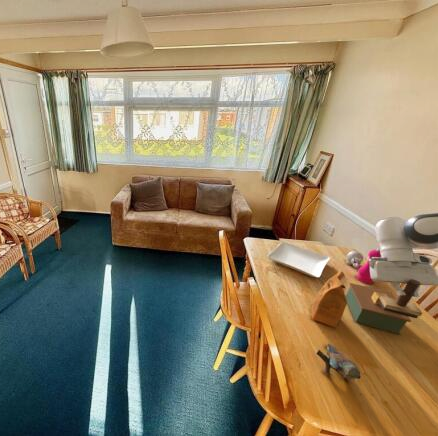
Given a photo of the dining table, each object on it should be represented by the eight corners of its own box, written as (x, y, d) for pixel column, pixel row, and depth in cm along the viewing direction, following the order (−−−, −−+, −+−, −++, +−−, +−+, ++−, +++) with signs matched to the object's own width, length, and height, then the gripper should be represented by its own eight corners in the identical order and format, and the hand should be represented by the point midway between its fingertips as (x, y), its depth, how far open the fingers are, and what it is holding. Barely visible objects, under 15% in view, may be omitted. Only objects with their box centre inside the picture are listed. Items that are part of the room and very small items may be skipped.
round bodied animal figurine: (345, 269, 131) (350, 257, 128) (343, 259, 140) (348, 247, 137) (361, 273, 128) (367, 261, 124) (358, 263, 137) (364, 251, 133)
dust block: (382, 300, 99) (386, 294, 97) (386, 306, 95) (390, 300, 94) (371, 297, 100) (374, 291, 99) (374, 303, 97) (378, 297, 95)
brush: (410, 309, 88) (430, 281, 82) (418, 319, 83) (438, 290, 77) (377, 301, 91) (393, 273, 85) (382, 310, 87) (399, 282, 81)
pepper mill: (371, 278, 124) (387, 247, 116) (374, 286, 119) (392, 254, 110) (354, 273, 128) (368, 243, 119) (356, 281, 122) (372, 249, 114)
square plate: (329, 261, 138) (331, 256, 136) (317, 283, 121) (319, 277, 119) (281, 244, 156) (282, 239, 154) (265, 261, 139) (266, 255, 137)
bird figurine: (311, 337, 91) (331, 327, 75) (342, 349, 87) (369, 341, 71) (308, 374, 85) (329, 371, 69) (341, 388, 81) (370, 389, 65)
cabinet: (384, 306, 107) (392, 292, 103) (403, 336, 92) (413, 321, 89) (343, 295, 113) (349, 282, 109) (354, 322, 98) (362, 308, 95)
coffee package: (338, 312, 103) (357, 274, 94) (336, 331, 95) (357, 290, 85) (312, 302, 109) (327, 264, 100) (308, 318, 100) (324, 279, 91)
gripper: (374, 255, 86) (384, 293, 82) (436, 259, 84) (449, 298, 79) (361, 258, 92) (369, 293, 88) (419, 261, 90) (430, 298, 85)
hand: (408, 296), depth 83 cm, fingers closed on brush, 3 cm apart
